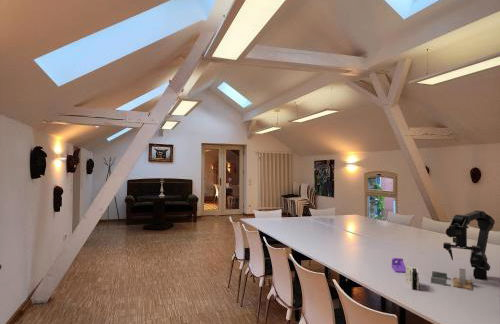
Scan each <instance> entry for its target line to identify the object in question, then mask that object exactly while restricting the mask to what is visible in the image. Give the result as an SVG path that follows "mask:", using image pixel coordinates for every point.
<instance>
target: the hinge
mask: <svg viewBox="0 0 500 324" xmlns="http://www.w3.org/2000/svg"><path fill="white" fill-rule="evenodd" d="M405 267H406V273H405V283H408V284H409V285H410V287H411V288H410V289H411V290H412V291H414V290H415V291H419V282H420V277H419V269H418V268H417V267H415V266H410V265H405Z"/></svg>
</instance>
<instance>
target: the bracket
mask: <svg viewBox="0 0 500 324" xmlns="http://www.w3.org/2000/svg"><path fill="white" fill-rule="evenodd" d="M391 268H392V270H393V271H394V272H395V273H398V274H406V265H405V263H404V258H401V257H400V258H399V257H392V259H391Z"/></svg>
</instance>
